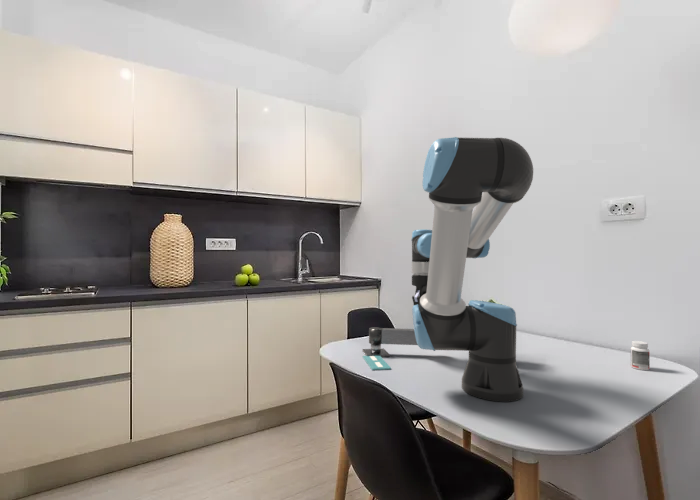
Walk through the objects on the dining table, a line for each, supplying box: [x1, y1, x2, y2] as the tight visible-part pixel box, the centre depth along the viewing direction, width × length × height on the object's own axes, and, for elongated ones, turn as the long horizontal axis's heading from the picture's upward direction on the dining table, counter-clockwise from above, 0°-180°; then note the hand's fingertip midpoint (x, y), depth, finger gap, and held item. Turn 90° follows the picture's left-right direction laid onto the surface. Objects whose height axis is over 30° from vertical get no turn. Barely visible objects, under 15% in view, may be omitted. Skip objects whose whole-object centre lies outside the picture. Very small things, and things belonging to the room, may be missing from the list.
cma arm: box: [368, 326, 418, 346], centre depth 128 cm, size 24×5×5 cm, turn 85°
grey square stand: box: [362, 344, 391, 358], centre depth 129 cm, size 8×8×4 cm
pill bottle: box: [630, 340, 651, 371], centre depth 116 cm, size 5×5×8 cm
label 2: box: [366, 360, 392, 371], centre depth 114 cm, size 7×6×1 cm
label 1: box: [362, 355, 385, 364], centre depth 121 cm, size 7×6×1 cm
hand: (422, 342), depth 124 cm, fingers closed
